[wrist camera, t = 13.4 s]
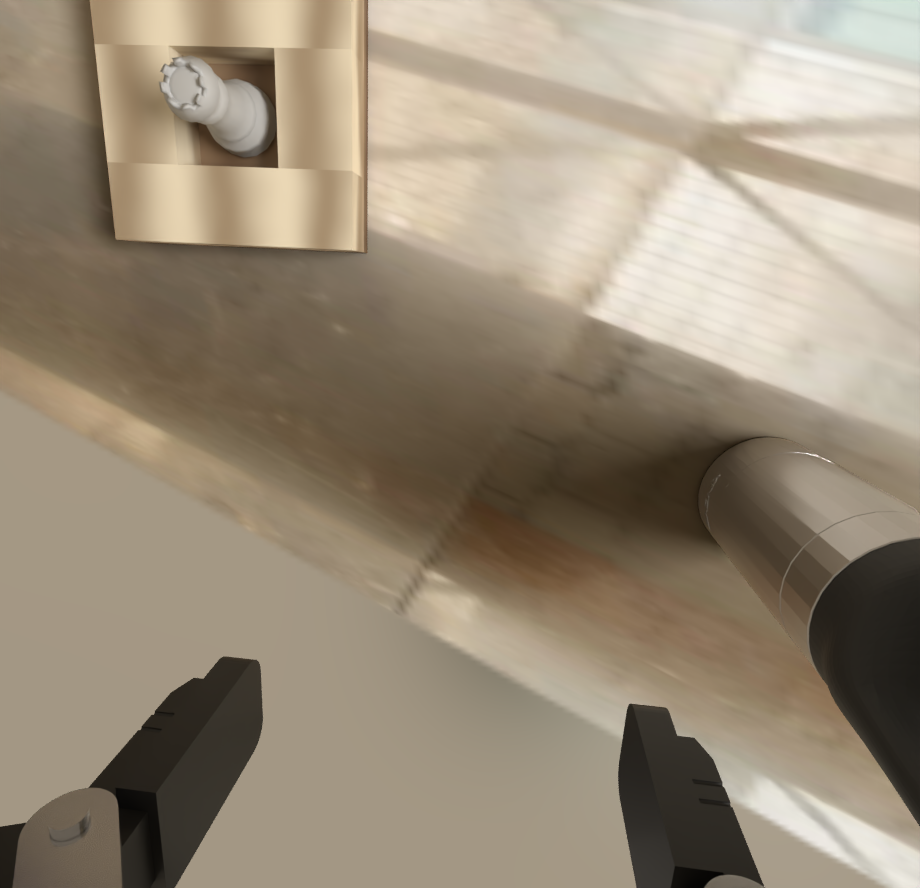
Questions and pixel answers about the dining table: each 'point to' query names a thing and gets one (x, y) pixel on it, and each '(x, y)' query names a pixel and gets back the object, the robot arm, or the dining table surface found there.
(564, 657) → the dining table surface
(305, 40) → the socket block
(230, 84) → the rook chess piece
